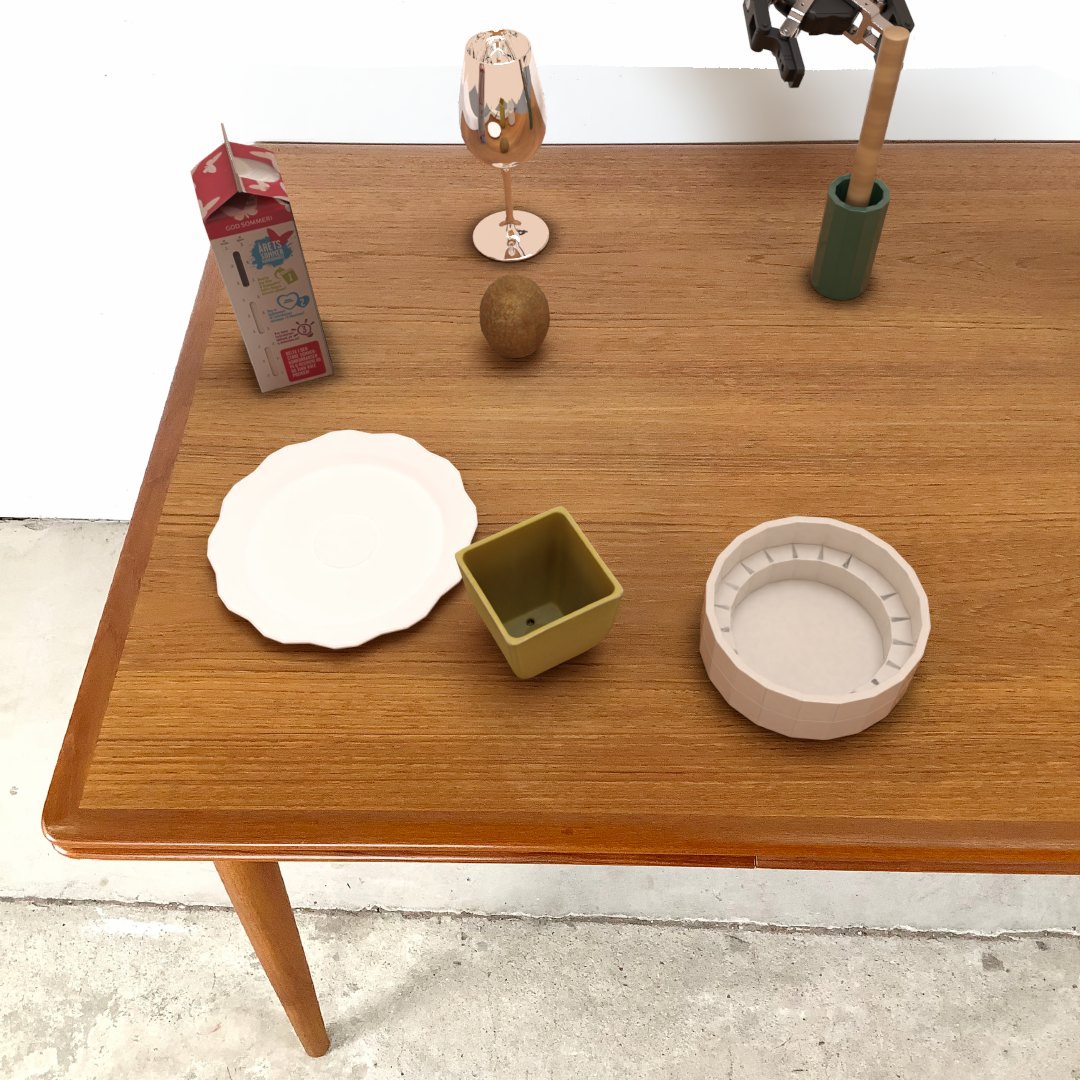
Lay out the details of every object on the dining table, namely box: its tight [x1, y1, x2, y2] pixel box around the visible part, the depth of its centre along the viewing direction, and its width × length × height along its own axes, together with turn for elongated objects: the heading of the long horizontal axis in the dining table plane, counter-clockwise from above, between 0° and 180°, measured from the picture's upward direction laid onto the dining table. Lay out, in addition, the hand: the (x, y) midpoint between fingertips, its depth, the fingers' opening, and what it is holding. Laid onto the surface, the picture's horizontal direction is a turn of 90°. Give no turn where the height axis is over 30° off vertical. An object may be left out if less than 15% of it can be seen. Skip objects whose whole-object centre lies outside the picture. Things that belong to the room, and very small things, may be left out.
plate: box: [206, 429, 479, 650], centre depth 89 cm, size 21×21×2 cm
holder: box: [810, 173, 891, 301], centre depth 101 cm, size 5×5×10 cm
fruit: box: [479, 273, 551, 359], centre depth 98 cm, size 6×6×8 cm
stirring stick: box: [845, 26, 911, 208], centre depth 95 cm, size 3×2×24 cm
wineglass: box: [458, 28, 550, 263], centre depth 102 cm, size 8×8×20 cm
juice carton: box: [190, 122, 336, 393], centre depth 93 cm, size 7×7×22 cm
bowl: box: [699, 515, 932, 741], centre depth 80 cm, size 15×15×6 cm
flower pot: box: [455, 505, 624, 680], centre depth 80 cm, size 9×9×9 cm
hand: (845, 80), depth 96 cm, fingers open, 8 cm apart
